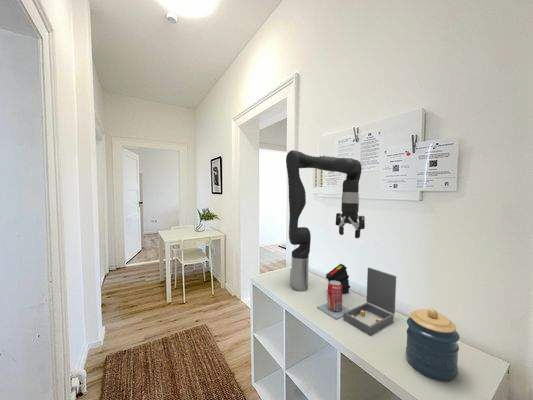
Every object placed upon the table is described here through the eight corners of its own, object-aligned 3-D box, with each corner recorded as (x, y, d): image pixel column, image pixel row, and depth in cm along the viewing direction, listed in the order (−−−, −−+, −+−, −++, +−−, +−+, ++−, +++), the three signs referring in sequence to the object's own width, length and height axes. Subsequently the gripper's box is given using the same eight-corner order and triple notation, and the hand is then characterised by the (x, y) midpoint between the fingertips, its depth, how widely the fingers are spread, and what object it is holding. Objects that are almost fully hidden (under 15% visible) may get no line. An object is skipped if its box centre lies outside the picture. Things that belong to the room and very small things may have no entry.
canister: (434, 349, 76) (436, 298, 75) (470, 382, 63) (473, 321, 62) (396, 350, 75) (398, 299, 75) (425, 383, 63) (427, 321, 62)
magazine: (354, 288, 118) (345, 265, 115) (336, 303, 114) (327, 279, 110) (349, 285, 122) (340, 263, 119) (331, 300, 117) (322, 276, 114)
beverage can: (331, 303, 105) (332, 278, 104) (344, 308, 100) (345, 282, 100) (324, 308, 100) (325, 282, 100) (337, 314, 96) (338, 286, 95)
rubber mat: (316, 307, 102) (316, 306, 102) (333, 301, 108) (333, 300, 108) (336, 319, 93) (336, 318, 93) (353, 312, 99) (353, 311, 99)
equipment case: (343, 319, 93) (344, 274, 92) (367, 308, 102) (369, 267, 101) (370, 335, 83) (371, 285, 82) (394, 321, 92) (396, 276, 91)
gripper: (332, 201, 108) (331, 234, 109) (358, 203, 96) (357, 240, 97) (342, 201, 112) (341, 233, 113) (368, 202, 100) (367, 238, 101)
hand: (349, 236), depth 105 cm, fingers open, 8 cm apart
